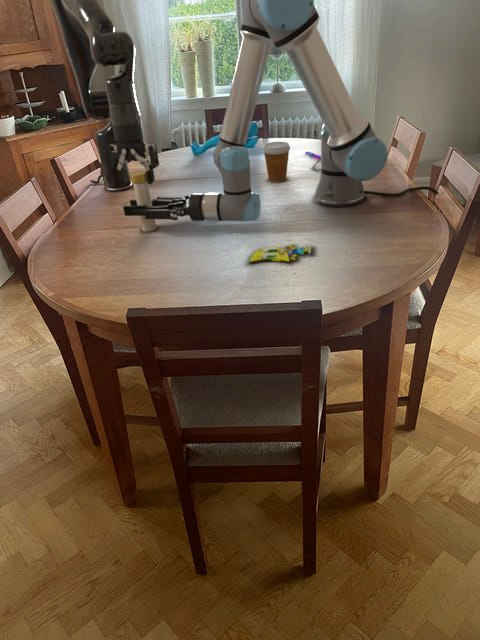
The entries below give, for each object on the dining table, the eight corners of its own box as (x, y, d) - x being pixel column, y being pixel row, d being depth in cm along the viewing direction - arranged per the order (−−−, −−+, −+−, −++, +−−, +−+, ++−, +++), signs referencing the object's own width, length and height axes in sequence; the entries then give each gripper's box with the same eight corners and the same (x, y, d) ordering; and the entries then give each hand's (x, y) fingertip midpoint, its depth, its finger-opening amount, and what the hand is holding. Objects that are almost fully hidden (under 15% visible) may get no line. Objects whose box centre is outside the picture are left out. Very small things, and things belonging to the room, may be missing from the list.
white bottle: (151, 232, 139) (141, 177, 131) (139, 231, 141) (128, 176, 132) (159, 227, 143) (149, 173, 134) (147, 225, 144) (137, 172, 136)
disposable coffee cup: (260, 182, 170) (258, 147, 164) (269, 174, 177) (267, 141, 171) (286, 183, 167) (285, 148, 160) (294, 175, 174) (293, 141, 168)
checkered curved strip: (342, 175, 173) (362, 153, 185) (341, 169, 172) (361, 148, 184) (283, 174, 186) (305, 153, 198) (282, 169, 184) (305, 148, 196)
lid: (152, 178, 135) (151, 170, 134) (142, 183, 131) (141, 175, 130) (137, 177, 137) (136, 169, 136) (127, 182, 133) (126, 174, 132)
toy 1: (196, 135, 216) (258, 115, 205) (204, 158, 221) (266, 140, 210) (185, 145, 202) (251, 124, 192) (194, 169, 207) (259, 150, 197)
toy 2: (311, 260, 114) (248, 260, 116) (311, 263, 115) (248, 263, 117) (311, 242, 123) (252, 243, 125) (311, 245, 123) (253, 246, 125)
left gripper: (95, 124, 124) (109, 186, 133) (144, 123, 120) (155, 188, 129) (109, 118, 130) (122, 178, 139) (157, 117, 126) (167, 179, 135)
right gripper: (198, 232, 130) (118, 231, 134) (214, 209, 144) (141, 209, 148) (194, 205, 125) (112, 205, 130) (211, 184, 140) (136, 185, 144)
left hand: (138, 183), depth 134 cm, fingers open, 7 cm apart
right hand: (128, 207), depth 139 cm, fingers closed on white bottle, 4 cm apart
